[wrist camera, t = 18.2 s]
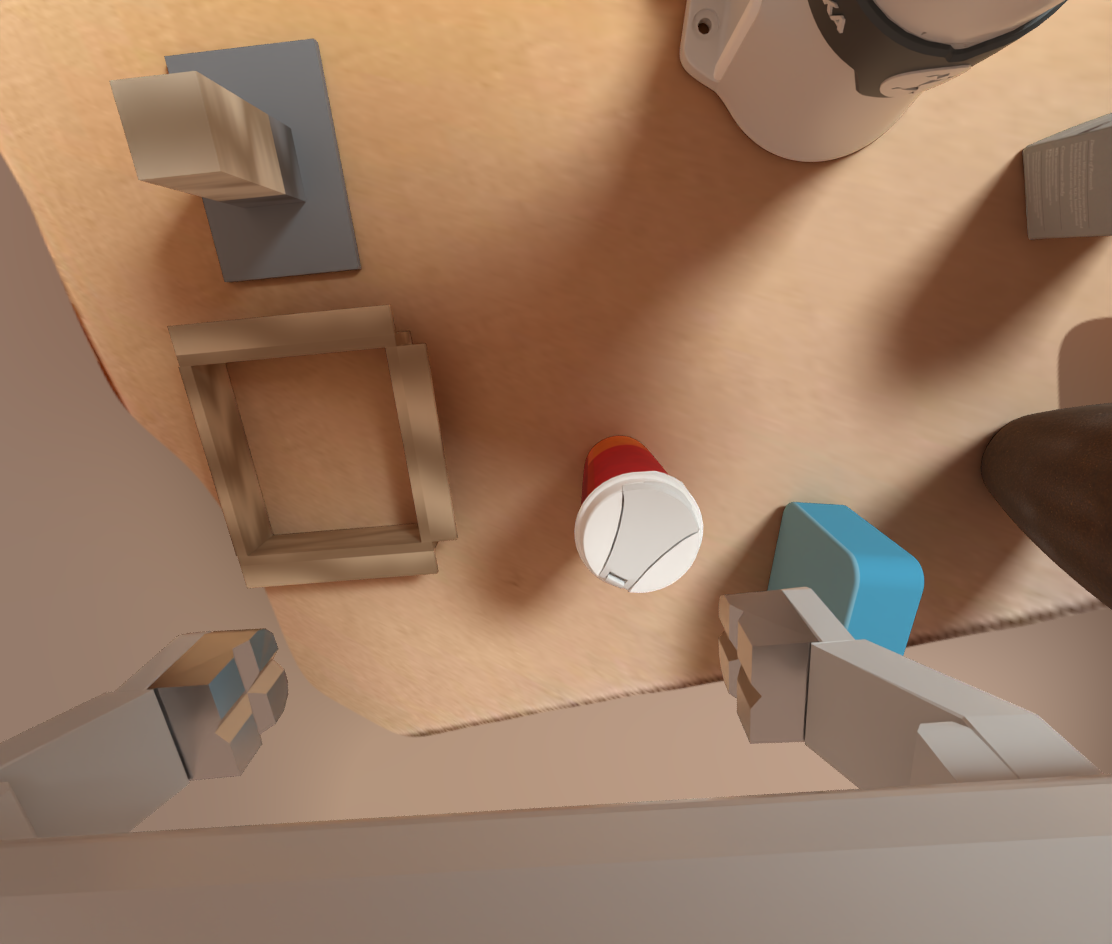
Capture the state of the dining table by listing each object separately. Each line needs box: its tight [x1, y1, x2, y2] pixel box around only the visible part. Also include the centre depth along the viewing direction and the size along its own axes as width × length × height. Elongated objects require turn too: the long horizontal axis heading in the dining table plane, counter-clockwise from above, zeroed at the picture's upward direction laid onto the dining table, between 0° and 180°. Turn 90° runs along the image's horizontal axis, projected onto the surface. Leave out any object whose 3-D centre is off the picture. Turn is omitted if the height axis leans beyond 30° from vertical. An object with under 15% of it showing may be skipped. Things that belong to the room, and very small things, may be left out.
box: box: [110, 71, 306, 208], centre depth 33 cm, size 4×4×10 cm
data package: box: [767, 502, 924, 656], centre depth 41 cm, size 12×4×12 cm, turn 177°
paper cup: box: [574, 436, 703, 593], centre depth 38 cm, size 8×8×14 cm
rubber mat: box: [164, 39, 361, 282], centre depth 38 cm, size 14×10×1 cm
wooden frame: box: [167, 304, 458, 588], centre depth 42 cm, size 21×18×4 cm
